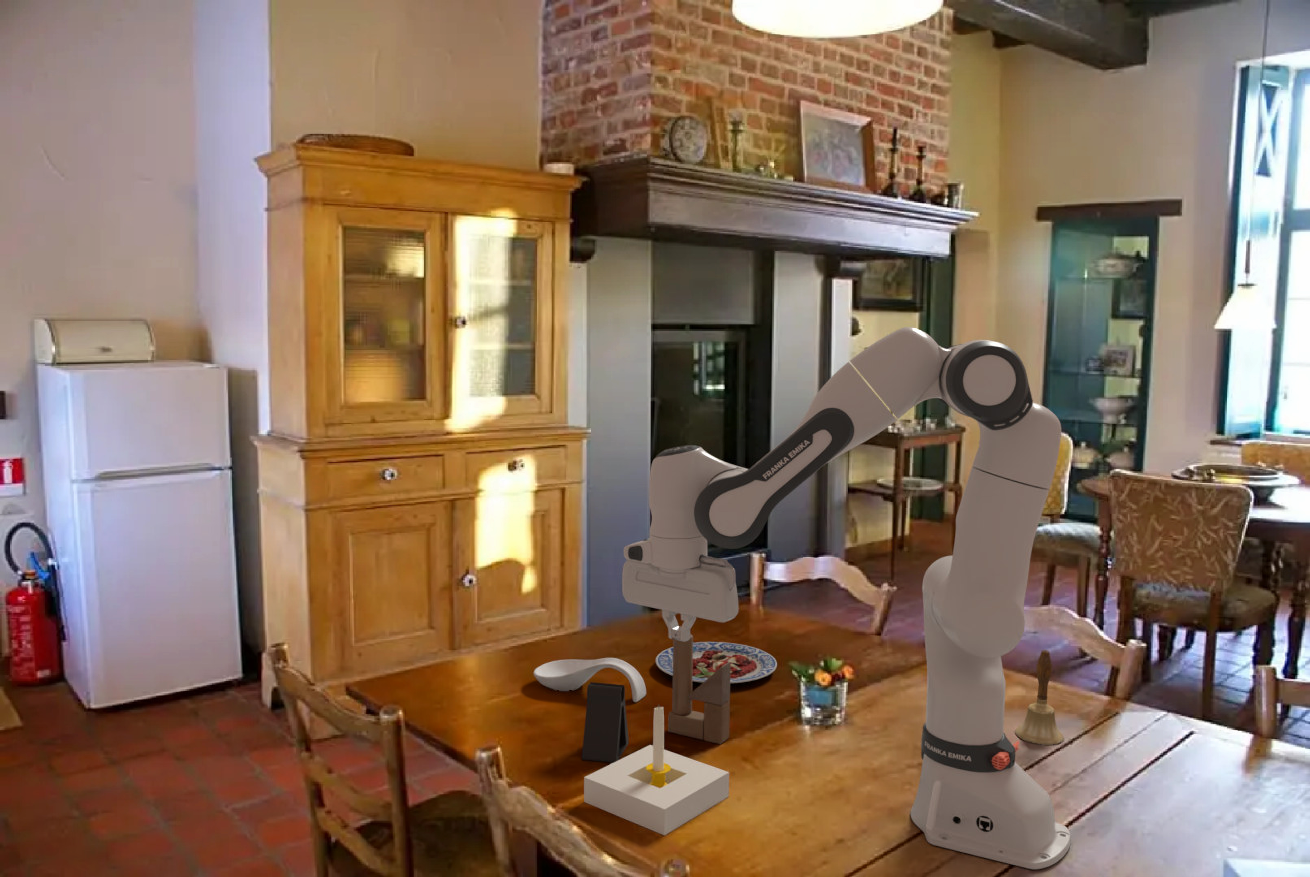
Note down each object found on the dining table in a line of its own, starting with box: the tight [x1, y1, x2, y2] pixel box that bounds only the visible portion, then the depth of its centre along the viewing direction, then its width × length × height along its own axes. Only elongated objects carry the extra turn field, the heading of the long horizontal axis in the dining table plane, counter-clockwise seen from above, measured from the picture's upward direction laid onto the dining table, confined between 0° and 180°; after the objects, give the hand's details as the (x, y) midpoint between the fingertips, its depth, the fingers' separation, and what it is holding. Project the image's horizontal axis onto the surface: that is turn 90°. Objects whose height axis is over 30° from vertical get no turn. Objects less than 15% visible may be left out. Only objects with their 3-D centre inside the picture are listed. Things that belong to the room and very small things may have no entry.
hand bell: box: [1014, 649, 1065, 746], centre depth 186 cm, size 8×8×16 cm
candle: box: [646, 704, 671, 788], centre depth 159 cm, size 5×5×16 cm
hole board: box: [583, 744, 730, 836], centre depth 160 cm, size 16×16×4 cm
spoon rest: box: [533, 657, 647, 703], centre depth 207 cm, size 24×12×7 cm, turn 66°
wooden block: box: [667, 633, 731, 745], centre depth 184 cm, size 4×11×18 cm, turn 61°
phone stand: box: [581, 681, 630, 764], centre depth 177 cm, size 9×6×12 cm, turn 167°
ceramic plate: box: [655, 641, 778, 684], centre depth 220 cm, size 26×26×3 cm
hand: (679, 639), depth 159 cm, fingers closed
